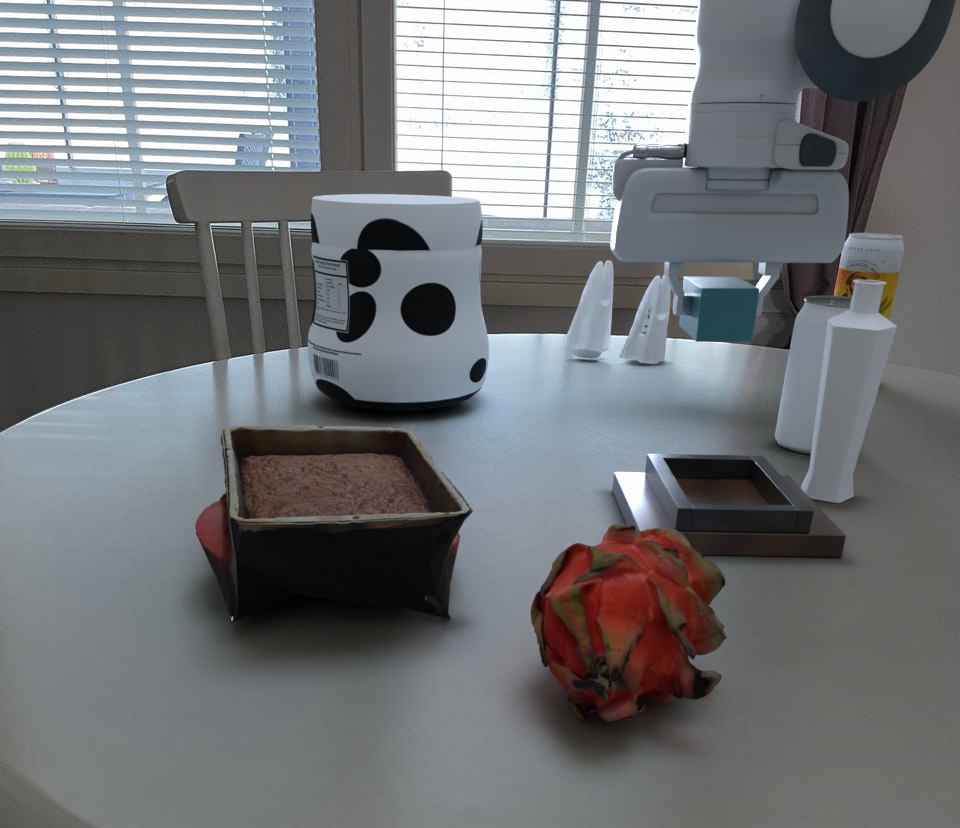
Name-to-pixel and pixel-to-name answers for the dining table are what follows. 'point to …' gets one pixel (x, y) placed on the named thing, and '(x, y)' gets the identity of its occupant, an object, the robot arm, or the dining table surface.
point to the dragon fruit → (629, 621)
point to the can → (805, 372)
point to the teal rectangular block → (720, 309)
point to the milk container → (397, 300)
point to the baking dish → (332, 519)
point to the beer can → (871, 265)
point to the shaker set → (596, 313)
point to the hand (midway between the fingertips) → (716, 315)
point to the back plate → (727, 506)
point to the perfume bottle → (847, 391)
